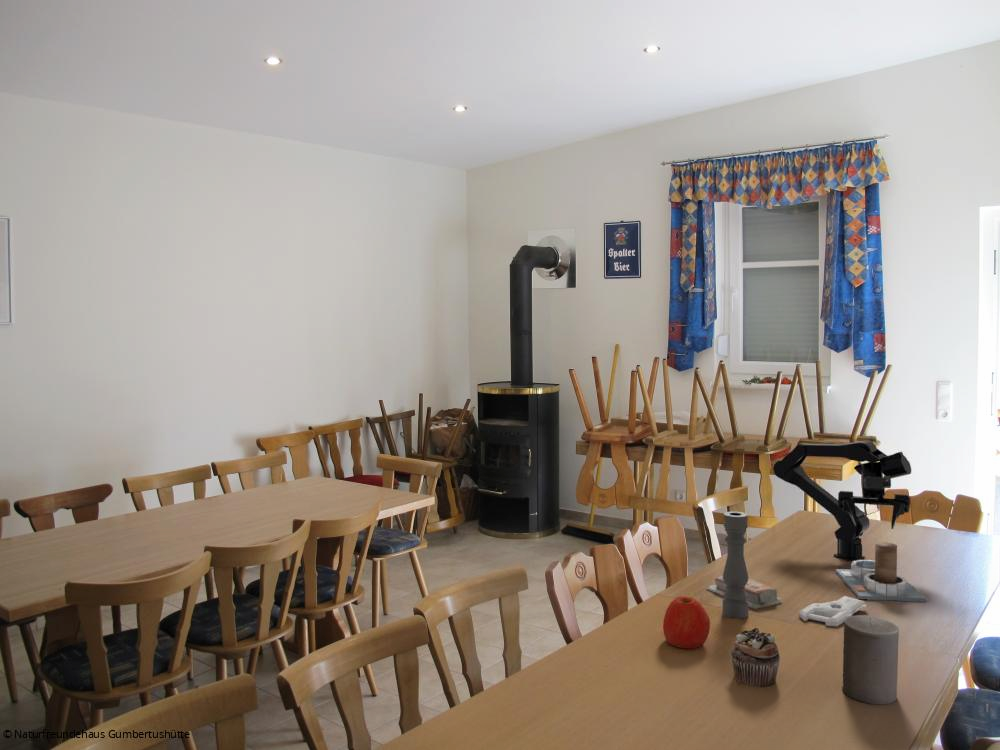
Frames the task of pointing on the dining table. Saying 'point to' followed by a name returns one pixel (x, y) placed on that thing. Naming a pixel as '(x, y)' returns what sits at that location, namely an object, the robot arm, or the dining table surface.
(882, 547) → the walnut peg
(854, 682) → the pillar candle
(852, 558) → the robot arm
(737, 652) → the cupcake
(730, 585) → the candle holder
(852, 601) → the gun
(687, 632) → the apple
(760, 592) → the packaged product
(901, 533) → the dining table surface
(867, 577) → the socket board
